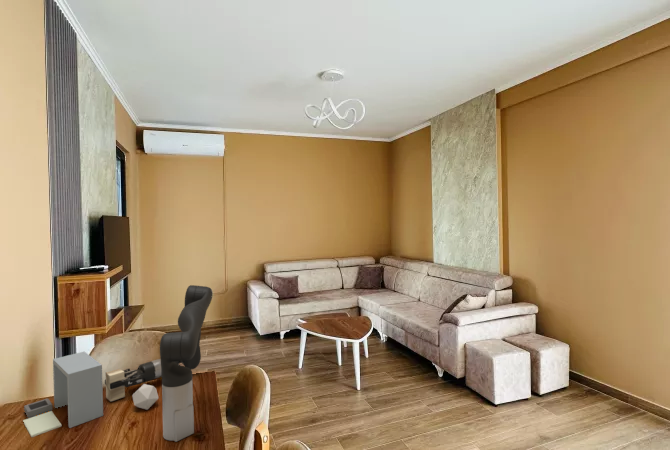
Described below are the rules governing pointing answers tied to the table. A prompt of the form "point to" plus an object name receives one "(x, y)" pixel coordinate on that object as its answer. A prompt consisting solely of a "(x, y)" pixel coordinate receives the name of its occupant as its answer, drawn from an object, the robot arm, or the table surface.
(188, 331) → the robot arm
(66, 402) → the grey tunnel
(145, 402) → the die
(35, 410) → the trap pit
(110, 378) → the birch block
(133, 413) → the table surface
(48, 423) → the pad
